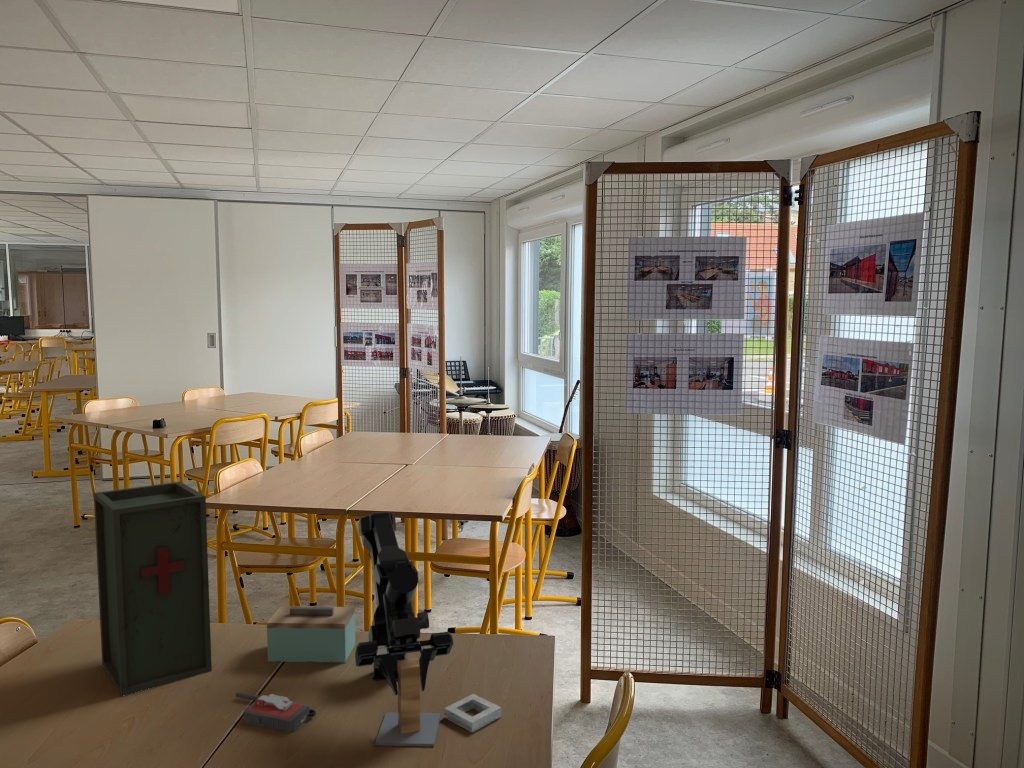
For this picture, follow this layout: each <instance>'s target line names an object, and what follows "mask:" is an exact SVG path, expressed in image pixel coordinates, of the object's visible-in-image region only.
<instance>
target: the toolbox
mask: <svg viewBox="0 0 1024 768" xmlns="http://www.w3.org/2000/svg"><path fill="white" fill-rule="evenodd" d="M355 608H356V607H355V606H307V605H306V606H305V605H304V606H302V605H301V606H300V605H299V606H297V605H292V606H290V605H281V606H279V607H278V609H277V610H276V611H275V613H274V614H273V615H272V616H271V617H270V619H269V620H268V621H267V622H266V638H267V639H266V643H267V647H266V648H267V662H277V661H281V662H280V663H282V662H283V663H284V662H285V663H286V662H287V663H289V662H290V663H291V662H293V663H298V662H299V663H311V662H310V661H314V662H313V663H330V662H329V661H332V662H331V663H346V662H347V661H348V659H349V657H348V656H350V655H351V653H352V651H353V649H354V647H355V645H356V614H355V613H356V612H355ZM349 654H350V655H349ZM347 658H348V659H347ZM346 660H347V661H346ZM307 661H309V662H307ZM315 661H316V662H315ZM317 661H318V662H317Z"/></svg>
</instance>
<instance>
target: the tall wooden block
mask: <svg viewBox="0 0 1024 768" xmlns="http://www.w3.org/2000/svg"><path fill="white" fill-rule="evenodd" d="M397 691H398V694H397V712H398V725H399V728H400V731H401V734H405V733H410V732H416V731H420V713H421V684H420V666H419V660H418V659H417V658H416V657H412V658H407V659H405V660H398V680H397Z"/></svg>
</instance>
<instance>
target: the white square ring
mask: <svg viewBox="0 0 1024 768" xmlns="http://www.w3.org/2000/svg"><path fill="white" fill-rule="evenodd" d="M443 710H444V713H443V714H444V716H443V717H444V719H446V720H448V721H450V722H452V723H454V724H455V725H457V726H459V727H461V728H463V729H465V730H466V731H468V732H470V733H472V734H473V733H475V732H477V731H478V730H481V729H482V728H484V727H486V726H487V725H489V724H491V723H493V722H494V721H496V720H499V719H500V718H502V707H501V706H499V705H497V704H496V703H493V702H490V701H489V700H487V699H485V698H482V697H481V696H479V695H477V694H475V693H472V694H470V695H468V696H466V697H463V698H462V699H460V700H457V701H456V702H454V703H452V704H449V705H448V706H446V707H444V709H443ZM471 710H475V711H477V712H478V713H477V714H475V715H473V716H472V715H470V714H468V713H467V712H469V711H471Z"/></svg>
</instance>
